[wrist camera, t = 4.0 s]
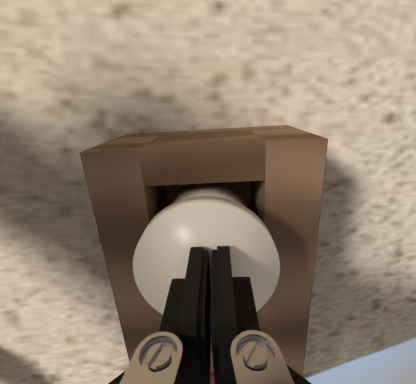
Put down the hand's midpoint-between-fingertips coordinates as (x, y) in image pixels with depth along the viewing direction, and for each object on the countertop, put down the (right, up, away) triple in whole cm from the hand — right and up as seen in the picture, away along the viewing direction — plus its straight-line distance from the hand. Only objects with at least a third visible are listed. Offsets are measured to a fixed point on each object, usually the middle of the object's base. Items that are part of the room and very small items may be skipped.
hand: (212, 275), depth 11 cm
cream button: (0, +2, +6) cm, 6 cm away
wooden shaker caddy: (0, -3, +12) cm, 12 cm away
